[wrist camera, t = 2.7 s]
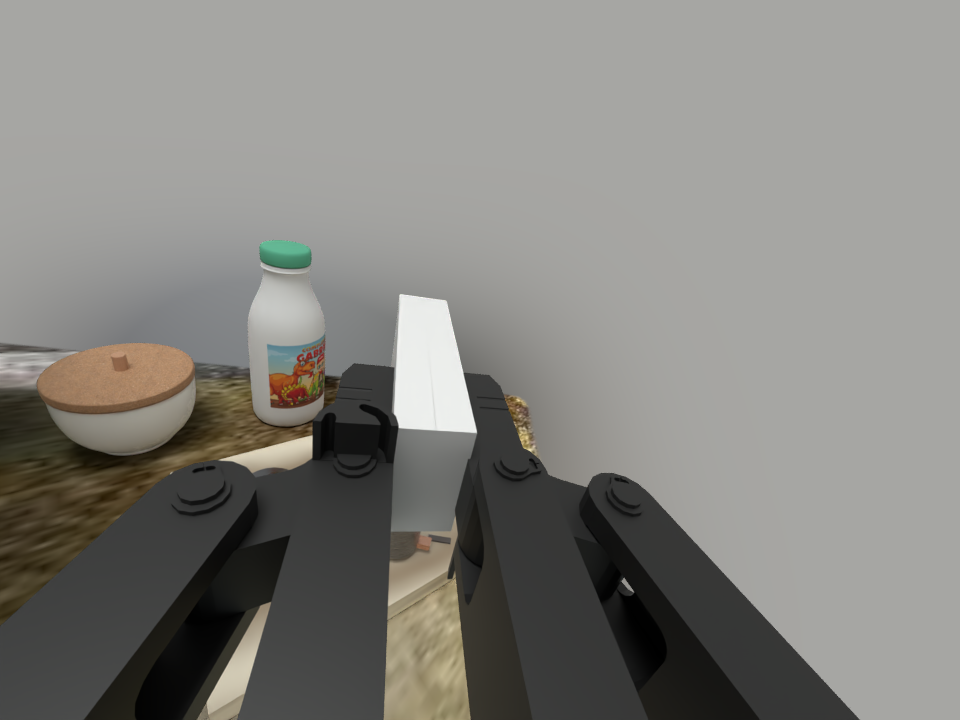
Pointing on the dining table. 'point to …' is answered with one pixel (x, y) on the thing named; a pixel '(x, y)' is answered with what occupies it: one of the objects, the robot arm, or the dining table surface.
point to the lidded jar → (120, 396)
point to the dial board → (405, 588)
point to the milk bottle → (286, 338)
